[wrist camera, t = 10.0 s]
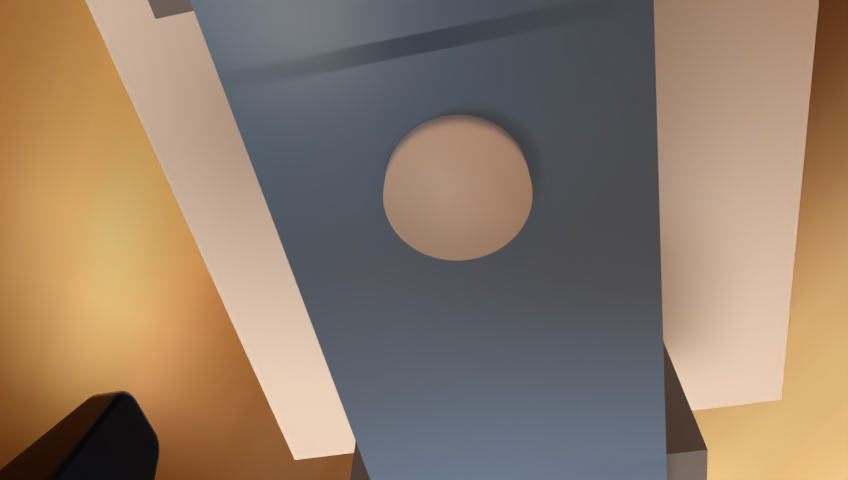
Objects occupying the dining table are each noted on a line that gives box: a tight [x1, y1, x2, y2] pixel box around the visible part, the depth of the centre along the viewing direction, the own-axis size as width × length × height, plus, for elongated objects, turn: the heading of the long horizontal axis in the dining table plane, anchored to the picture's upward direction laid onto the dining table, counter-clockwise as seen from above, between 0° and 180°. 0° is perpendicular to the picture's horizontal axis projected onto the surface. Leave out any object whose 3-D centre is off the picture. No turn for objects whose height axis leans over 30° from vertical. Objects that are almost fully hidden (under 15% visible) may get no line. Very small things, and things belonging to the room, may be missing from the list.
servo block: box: [190, 0, 667, 480], centre depth 11 cm, size 4×11×6 cm, turn 11°
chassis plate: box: [85, 0, 819, 480], centre depth 12 cm, size 13×18×6 cm
